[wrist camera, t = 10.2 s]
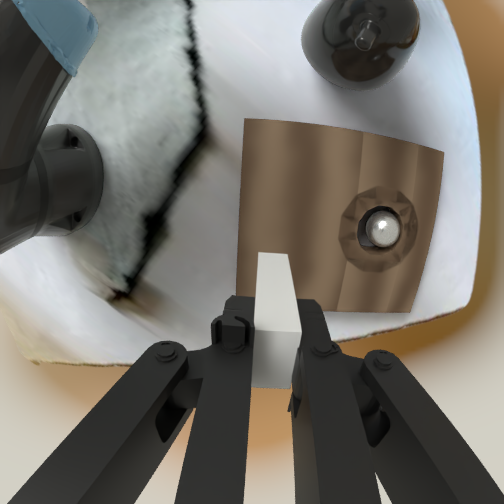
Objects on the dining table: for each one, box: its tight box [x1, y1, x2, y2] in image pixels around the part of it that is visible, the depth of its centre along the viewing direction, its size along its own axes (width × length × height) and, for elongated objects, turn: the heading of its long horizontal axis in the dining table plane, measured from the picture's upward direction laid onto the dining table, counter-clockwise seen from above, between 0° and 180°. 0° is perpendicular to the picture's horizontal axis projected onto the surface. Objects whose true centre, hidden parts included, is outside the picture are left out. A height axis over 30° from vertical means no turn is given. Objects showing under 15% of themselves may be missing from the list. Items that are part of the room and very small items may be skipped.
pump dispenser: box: [301, 0, 420, 91], centre depth 16 cm, size 10×10×15 cm
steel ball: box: [366, 211, 400, 247], centre depth 28 cm, size 4×4×4 cm
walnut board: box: [236, 118, 444, 313], centre depth 29 cm, size 22×20×3 cm
